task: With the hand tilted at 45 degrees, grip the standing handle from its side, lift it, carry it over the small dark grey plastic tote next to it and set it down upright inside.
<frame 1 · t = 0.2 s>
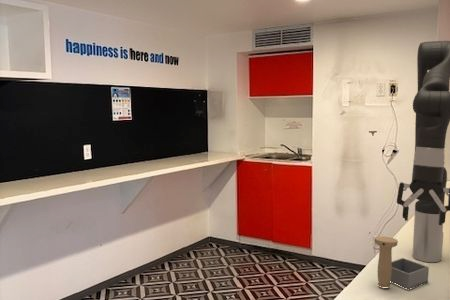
hand: (422, 222, 117), 23 cm above the table, tool pointing down, fingers open, 8 cm apart
tote: (404, 281, 132), on the table
handle: (383, 287, 128), on the table
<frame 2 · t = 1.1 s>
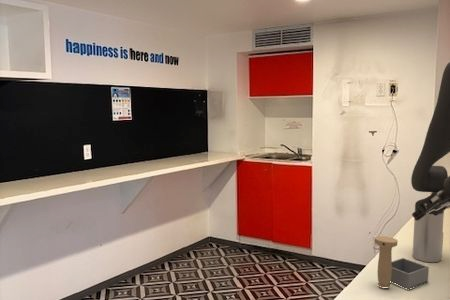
hand: (424, 215, 115), 25 cm above the table, tool tilted 45°, fingers open, 8 cm apart
nothing on the table moved.
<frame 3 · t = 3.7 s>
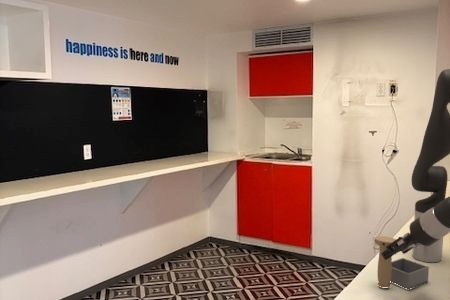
hand: (393, 253, 124), 11 cm above the table, tool tilted 45°, fingers open, 8 cm apart
nothing on the table moved.
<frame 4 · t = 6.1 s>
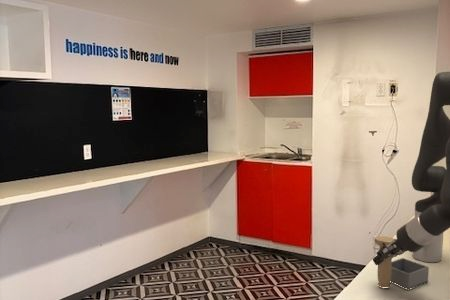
hand: (379, 260, 129), 8 cm above the table, tool tilted 45°, fingers closed on handle, 3 cm apart
handle: (383, 287, 128), on the table, touching gripper
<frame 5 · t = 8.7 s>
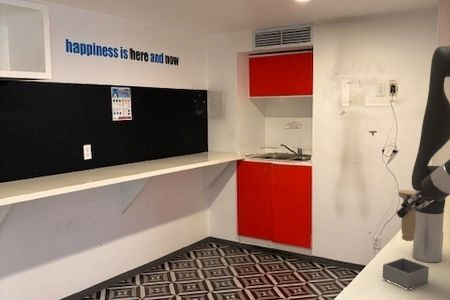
hand: (402, 214, 131), 21 cm above the table, tool tilted 45°, fingers closed on handle, 3 cm apart
handle: (407, 240, 130), point 13 cm above the table, touching gripper
when the fingers open (10 cm above the table, at t = 11.3 s): handle drops 1 cm, resting on tote.
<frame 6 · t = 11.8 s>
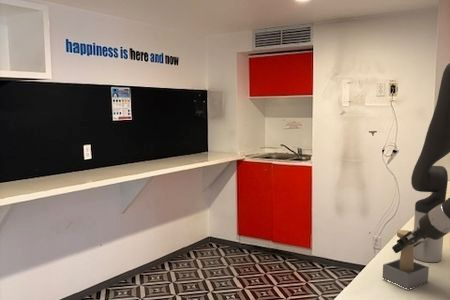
hand: (402, 247, 132), 10 cm above the table, tool tilted 45°, fingers open, 7 cm apart
handle: (405, 279, 132), resting on tote
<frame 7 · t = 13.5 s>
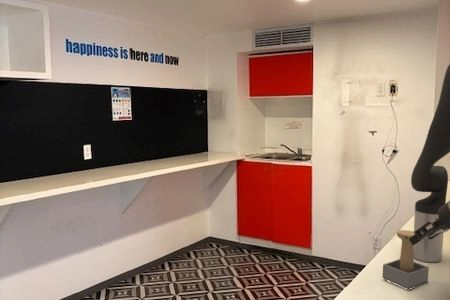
hand: (419, 239, 127), 15 cm above the table, tool tilted 45°, fingers open, 8 cm apart
nothing on the table moved.
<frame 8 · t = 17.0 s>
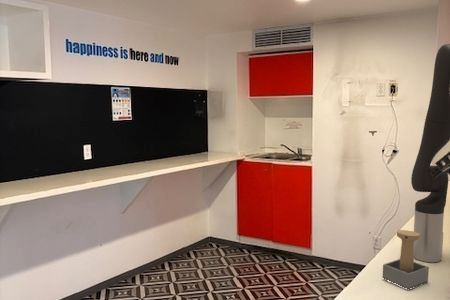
hand: (440, 174, 124), 35 cm above the table, tool tilted 45°, fingers open, 8 cm apart
nothing on the table moved.
at the end: handle 0.2 cm off-centre on the tote, point 0.4 cm above the tote's base; handle tilted 0°; the gripper is holding nothing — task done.
